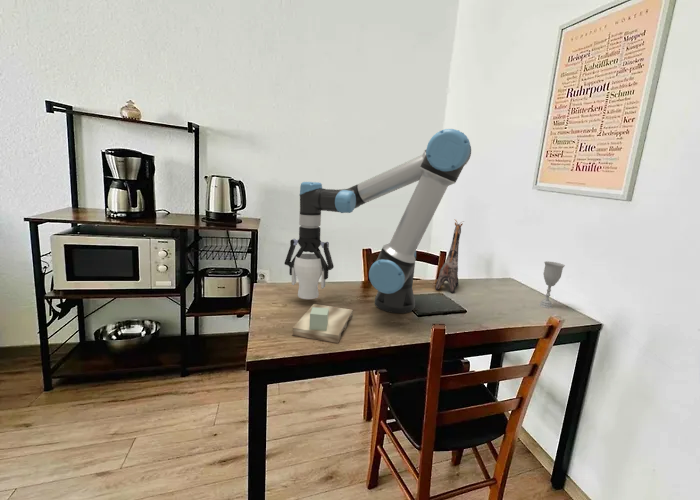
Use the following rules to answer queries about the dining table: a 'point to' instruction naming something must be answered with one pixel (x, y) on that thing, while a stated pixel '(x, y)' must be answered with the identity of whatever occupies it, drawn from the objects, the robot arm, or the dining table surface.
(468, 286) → the dining table surface
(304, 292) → the cup
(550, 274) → the chalice
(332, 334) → the dock
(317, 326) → the pale green cube
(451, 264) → the toy
